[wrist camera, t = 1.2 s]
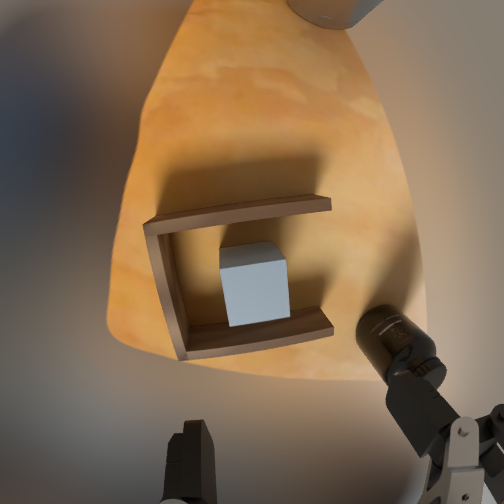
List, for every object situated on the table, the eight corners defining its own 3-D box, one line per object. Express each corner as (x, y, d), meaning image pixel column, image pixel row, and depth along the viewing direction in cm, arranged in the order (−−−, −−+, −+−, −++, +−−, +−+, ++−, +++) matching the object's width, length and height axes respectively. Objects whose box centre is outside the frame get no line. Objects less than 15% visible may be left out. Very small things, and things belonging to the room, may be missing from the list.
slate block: (219, 248, 26) (219, 269, 20) (271, 240, 26) (286, 259, 20) (227, 295, 27) (229, 326, 21) (276, 288, 28) (290, 316, 22)
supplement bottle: (373, 295, 29) (436, 350, 18) (406, 311, 31) (464, 360, 19) (343, 342, 31) (389, 409, 19) (378, 353, 32) (424, 410, 21)
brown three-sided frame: (155, 216, 24) (142, 224, 20) (312, 194, 25) (330, 198, 21) (183, 335, 28) (178, 361, 24) (318, 314, 29) (333, 335, 25)
